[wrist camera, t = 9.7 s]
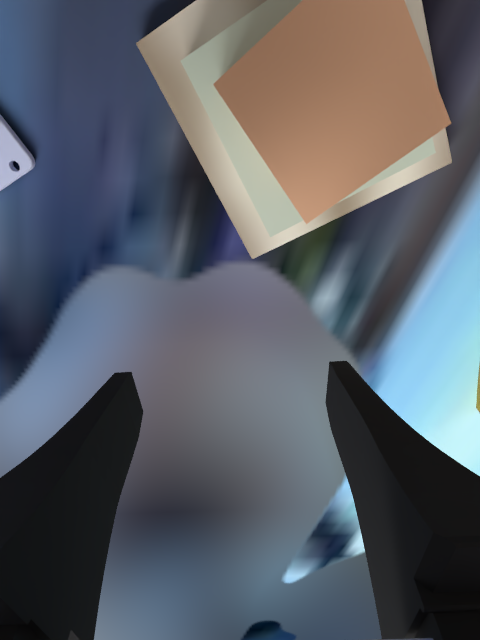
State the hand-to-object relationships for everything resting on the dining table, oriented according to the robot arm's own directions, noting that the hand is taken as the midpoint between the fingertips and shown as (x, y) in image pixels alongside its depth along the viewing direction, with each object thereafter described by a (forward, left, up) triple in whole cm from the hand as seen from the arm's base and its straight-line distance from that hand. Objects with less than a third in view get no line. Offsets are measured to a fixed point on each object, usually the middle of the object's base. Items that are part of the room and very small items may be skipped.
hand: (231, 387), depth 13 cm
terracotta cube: (+7, +6, -7) cm, 12 cm away
